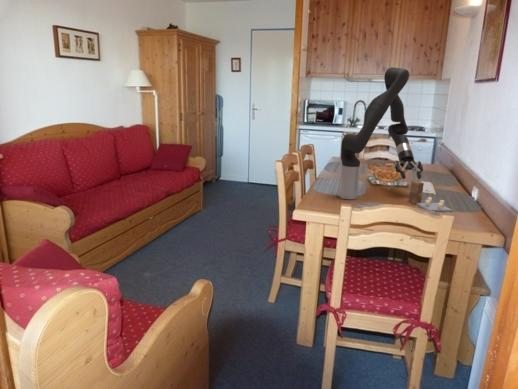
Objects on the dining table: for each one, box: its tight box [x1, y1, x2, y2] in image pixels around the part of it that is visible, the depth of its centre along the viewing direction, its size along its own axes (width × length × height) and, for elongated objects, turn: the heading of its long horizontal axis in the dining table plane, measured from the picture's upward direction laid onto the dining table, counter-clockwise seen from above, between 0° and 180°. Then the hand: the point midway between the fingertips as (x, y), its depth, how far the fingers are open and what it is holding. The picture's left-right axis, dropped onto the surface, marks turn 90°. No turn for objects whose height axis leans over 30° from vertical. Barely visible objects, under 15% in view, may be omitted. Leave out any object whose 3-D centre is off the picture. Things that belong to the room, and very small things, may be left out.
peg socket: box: [416, 196, 453, 213], centre depth 199 cm, size 12×12×4 cm
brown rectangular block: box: [408, 180, 424, 205], centre depth 207 cm, size 4×6×11 cm, turn 6°
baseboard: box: [419, 180, 437, 196], centre depth 241 cm, size 31×3×12 cm
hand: (412, 178), depth 211 cm, fingers open, 8 cm apart
